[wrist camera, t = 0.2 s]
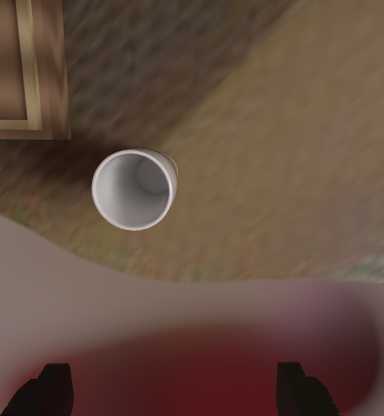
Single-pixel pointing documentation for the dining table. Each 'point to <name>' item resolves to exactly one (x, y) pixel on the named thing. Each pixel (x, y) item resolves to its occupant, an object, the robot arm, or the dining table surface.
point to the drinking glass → (135, 187)
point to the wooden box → (33, 71)
